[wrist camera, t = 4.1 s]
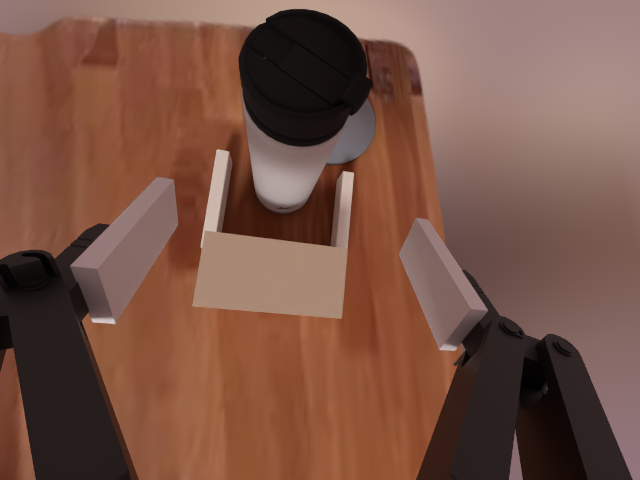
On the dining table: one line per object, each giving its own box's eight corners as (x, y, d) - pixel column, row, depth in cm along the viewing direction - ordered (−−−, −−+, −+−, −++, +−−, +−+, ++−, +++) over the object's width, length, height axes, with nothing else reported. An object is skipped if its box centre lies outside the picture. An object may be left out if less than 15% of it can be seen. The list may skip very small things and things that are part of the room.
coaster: (268, 98, 34) (268, 94, 33) (346, 68, 36) (348, 63, 35) (312, 179, 33) (313, 177, 33) (388, 143, 36) (391, 140, 35)
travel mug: (292, 227, 32) (331, 146, 13) (243, 193, 32) (204, 55, 12) (322, 184, 33) (399, 51, 14) (275, 151, 33) (287, -35, 14)
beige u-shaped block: (221, 161, 32) (207, 125, 24) (346, 182, 34) (368, 154, 27) (198, 298, 29) (175, 304, 22) (334, 310, 32) (355, 319, 24)
